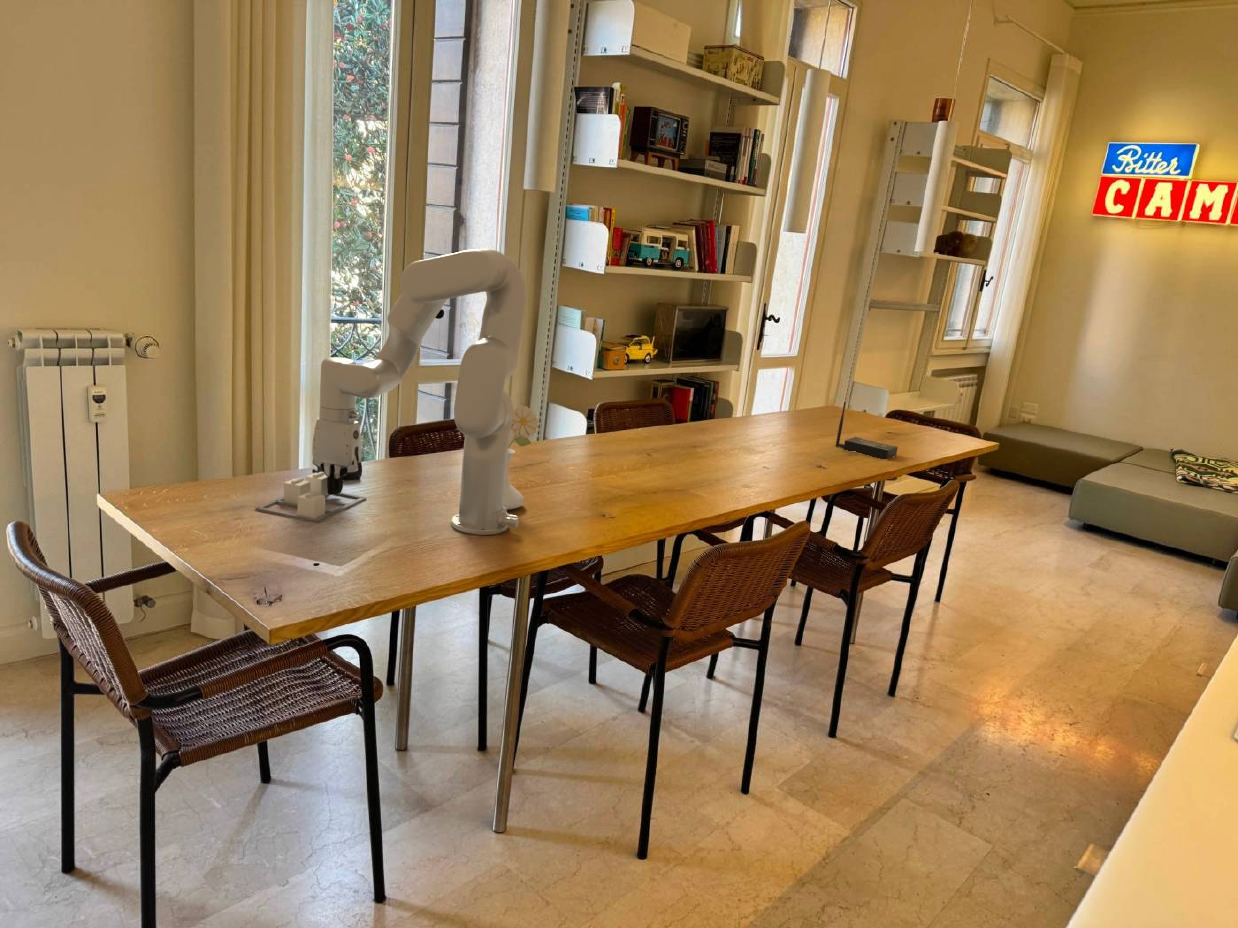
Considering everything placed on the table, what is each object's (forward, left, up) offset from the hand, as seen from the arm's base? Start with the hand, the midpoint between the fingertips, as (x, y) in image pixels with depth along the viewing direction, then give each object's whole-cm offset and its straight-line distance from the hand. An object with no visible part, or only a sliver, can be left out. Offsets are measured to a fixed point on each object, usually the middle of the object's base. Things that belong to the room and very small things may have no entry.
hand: (334, 492), depth 197 cm
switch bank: (+3, +6, -3) cm, 8 cm away
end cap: (+8, -14, -3) cm, 16 cm away
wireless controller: (-118, -154, -3) cm, 194 cm away
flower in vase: (-33, -21, -3) cm, 39 cm away
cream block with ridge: (+5, +6, -1) cm, 8 cm away
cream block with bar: (+4, 0, -1) cm, 4 cm away
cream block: (-3, +13, -1) cm, 13 cm away
